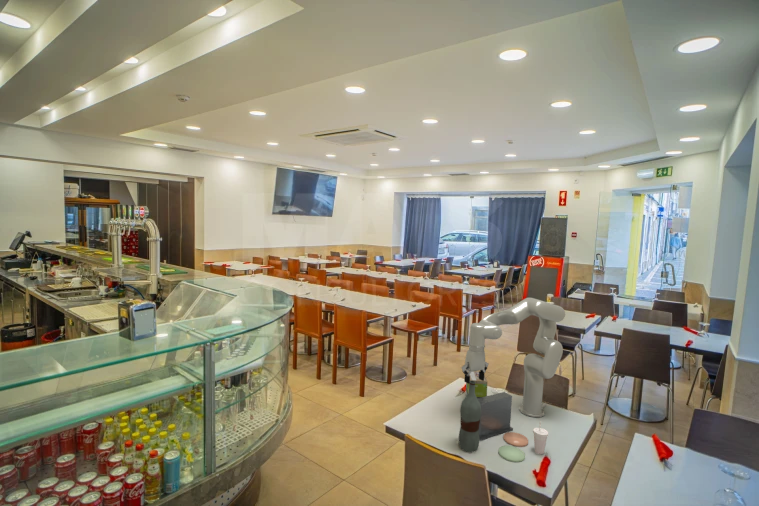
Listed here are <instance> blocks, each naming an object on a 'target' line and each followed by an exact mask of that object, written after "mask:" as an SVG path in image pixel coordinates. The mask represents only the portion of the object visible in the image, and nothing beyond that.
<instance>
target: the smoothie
mask: <svg viewBox="0 0 759 506" xmlns="http://www.w3.org/2000/svg"><path fill="white" fill-rule="evenodd" d="M541 426H542V421H539V426H538V427H534V428H533V430H532V433H533V442H534V443H533V444H534V452H535V453H536V454H537V455H544V454H545V448H546V445H547V440H548V437H549V431H548V430H546V429H545V428H542V427H541Z"/></svg>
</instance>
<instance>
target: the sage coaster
mask: <svg viewBox="0 0 759 506" xmlns="http://www.w3.org/2000/svg"><path fill="white" fill-rule="evenodd" d="M498 455H499V457H501V458H502V459H504V461H505V460H506V461H508V462H512V463H522V462H524V461H525V459H526V454H525V452H524V451H523V450H522V449H521V448H520V447H516V446H512V445H502V446H500V447H499V448H498Z"/></svg>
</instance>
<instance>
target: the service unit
mask: <svg viewBox="0 0 759 506" xmlns="http://www.w3.org/2000/svg"><path fill="white" fill-rule="evenodd" d="M477 399H478V401H479V402H480V405H481V417H480V424H479V439H480V441H479V442H481V441H484V440H487V439H491V438H494V437H497V436H500V435H504V434H505V433H508V432H514V427H512V426H511V420H512V419H511V417H512V405H513V395H511V394H510V393H508V392H505V391H502V392H498V393H495V394H491V395H487V396H486V397H482V398H477Z"/></svg>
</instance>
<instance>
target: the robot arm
mask: <svg viewBox="0 0 759 506" xmlns="http://www.w3.org/2000/svg"><path fill="white" fill-rule="evenodd" d="M530 316H535V317H537V318H538V320H539V327H538V330H537V331H536V335H535V337H534V341H533V343H532V347H533V349H534V350H535V351H536V352H537V353H538V354H536V353H527V354H526V355H525V357H524V359H523V370H524V382H523V395H522V405H519V409H518V410H519V411H520V413H521V414H522V415H525V416H527V417H530V418H531V417H532V418H542V417H543V416H544V415H545V410H544V409H543V408H544V407H547V406H548V405H547V403H546V402H543V394H544V379H546V380H548V379H549V380H550V379H551V378H553V377H554V376H555V374H556V373H557V370H558V367H559V364H560V362H561V359H562V357H563V354H564V353H563V351H564V350H563V349H564V348H563V345H562V343H561V342H560V341H558V340H556V339H555V335H556V333H557V323H559V322H562V321H564V319H565V317H566V310H565V309H564V308H563V307H562V306H560V305H557V304H553V303H550V302H547V301H545V300H544V301H543V300H541V299H537V298H534V297H526V298H523V299H522V300H521V301H519V302H518V303H515V304H514V305H513V306H511V307H509V308H508V309H505V310H501V311H498V312H494V313H491V314H489V315H488V316H485V317H484V318H483V319H481V320H480V321H479V322H473V323H471V324H470V328H469V330H470V331H469V343H468V349H467V351H466V354H465V360H464V361H465V362H464V364H463V365H462V366H461V367H460V368H461V371H462V373H463V374H464V380H463V381H464V383H465V384H466V383H468V384H469V383H470V382H469V381H470V376H469V375H470V373H471V372H474V371H479V379H480V380H482V381H484V375H485V373H486V371H487V369H488V367H489V362H487V361H486V352H485V348H486V345H485V344H486V339H488V340H499V339H500V338H501V337H502V335H503V330H502V328H501V327H500V326H503V325H518V324H519V323H521V322H523V321H524V320H526V319H527V318H529V317H530ZM539 354H541V355H544V356H541V355H539ZM468 371H469V372H468ZM467 372H468V373H467Z"/></svg>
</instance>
